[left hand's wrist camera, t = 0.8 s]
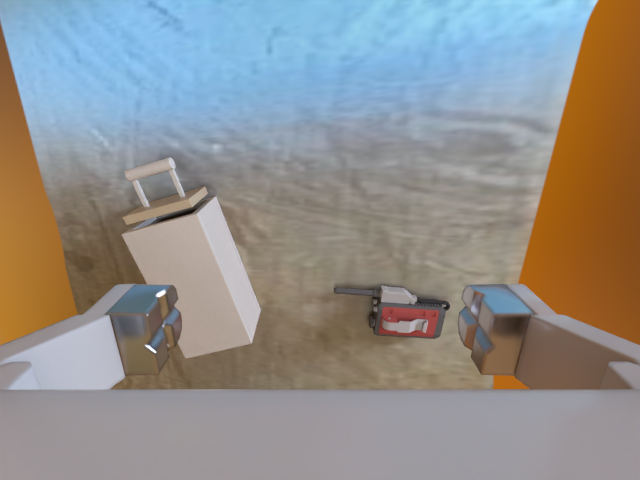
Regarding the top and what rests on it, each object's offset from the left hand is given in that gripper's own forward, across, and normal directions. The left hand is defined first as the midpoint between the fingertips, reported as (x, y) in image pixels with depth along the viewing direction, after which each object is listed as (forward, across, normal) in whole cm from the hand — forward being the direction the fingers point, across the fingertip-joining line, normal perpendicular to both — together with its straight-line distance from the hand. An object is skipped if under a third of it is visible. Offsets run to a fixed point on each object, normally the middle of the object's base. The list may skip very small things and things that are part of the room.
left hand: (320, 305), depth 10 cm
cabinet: (+45, +18, +20) cm, 53 cm away
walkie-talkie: (+45, -12, +28) cm, 54 cm away
